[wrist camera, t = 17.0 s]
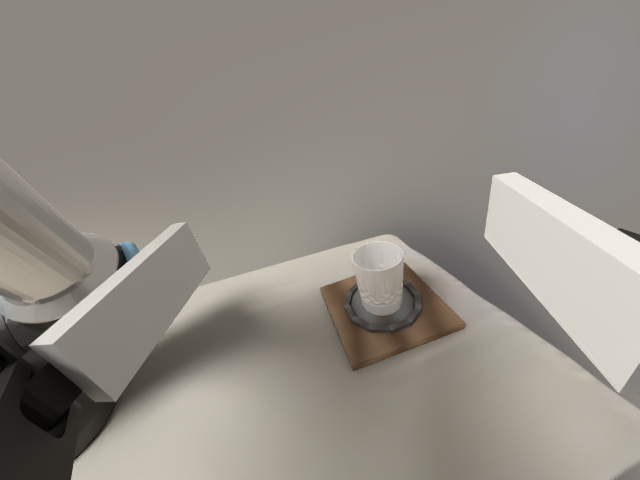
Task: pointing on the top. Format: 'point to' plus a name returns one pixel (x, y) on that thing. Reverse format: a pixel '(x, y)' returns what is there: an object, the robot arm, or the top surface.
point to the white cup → (379, 276)
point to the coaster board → (387, 320)
